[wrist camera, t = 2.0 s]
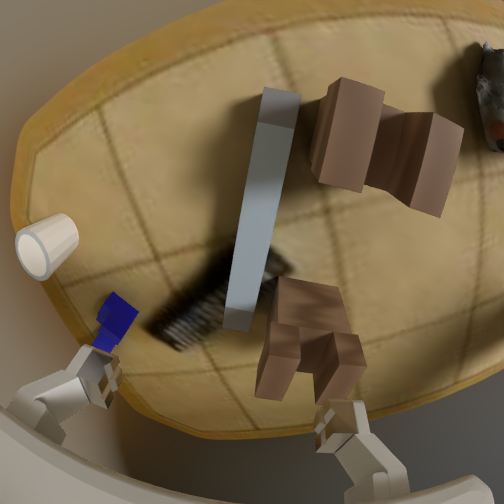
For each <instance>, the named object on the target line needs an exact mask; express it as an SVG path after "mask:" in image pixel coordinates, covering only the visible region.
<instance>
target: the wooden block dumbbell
mask: <svg viewBox="0 0 504 504" xmlns="http://www.w3.org/2000/svg"><path fill="white" fill-rule="evenodd" d="M384 95H385V91H383V90H380V89H377V88H374V87H371V86H369V85H366V84H363V83H360V82H357V81H353V80H350V79H347V78H344V77H341V78H339V79H338V80H337V81H335V82H334V83H332V84H331V85H330V86H329V87H328V92H327V95H326V96H324V97H323V98H321V99H320V103H319V108H318V113H317V117H316V122H315V127H314V132H313V136H312V141H311V145H310V150H309V154H308V160H309V161H310V162H311V163H312V166H311V172H312V173H313V175H314V176H315V178H316V179H317V181H318V182H319V183H324V184H328V185H332V186H336V187H339V188H343V189H347V190H351V191H355V192H358V193H361V192H362V189H363V185H368V186H371V187H375V188H378V189H381V190H385V191H387V192H389V193H390V194H391V195H393V196H394V197H395V198H397V199H398V200H400V201H401V202H402V203H404V204H405V205H406V206H408V207H409V208H412V209H415V210H418V211H421V212H424V213H427V214H430V215H432V216H435V217H438V218H440V217H441V214H442V211H443V208H444V205H445V202H446V199H447V195H448V192H449V189H450V186H451V182H452V179H453V175H454V171H455V167H456V164H457V160H458V155H459V151H460V147H461V142H462V138H463V133H464V128H462V127H460V126H459V125H457V124H455V123H453V122H451V121H449V120H448V119H446V118H444V117H442V116H440V115H438V114H436V113H434V112H409V113H406V112H403V111H401V110H398V109H396V108H393V107H391V106H388V105H385V104H383V100H384ZM366 367H367V365H366V361H365V358H364V354H363V350H362V347H361V343H360V340H359V336H358V335H354V334H352V332H351V328H350V325H349V321H348V318H347V314H346V311H345V308H344V304H343V301H342V297H341V294H340V291H339V288H338V287H334V286H328V285H323V284H318V283H312V282H307V281H302V280H297V279H291V278H286V277H281V276H279V278H278V282H277V285H276V289H275V293H274V296H273V300H272V304H271V308H270V311H269V315H268V321H267V335H266V340H265V344H264V347H263V350H262V354H261V357H260V360H259V363H258V369H257V379H256V388H255V397H257V398H263V399H270V400H277V401H282V399H283V397H284V395H285V393H286V391H287V389H288V387H289V385H290V382H291V380H292V378H293V376H294V374H295V372H296V371H297V372H305V373H313V380H314V393H315V404H316V405H323V403H324V401H325V400H326V399H345V398H346V397H347V395H348V394H349V392H350V391H351V390H352V388H353V387H354V385H355V384H356V382H357V381H358V379H359V378H360V377H361V375H362V373H363V372H364V370H365V369H366Z"/></svg>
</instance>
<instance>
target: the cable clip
mask: <svg viewBox="0 0 504 504" xmlns="http://www.w3.org/2000/svg"><path fill="white" fill-rule="evenodd" d="M138 313H139V311H137V310H136V309H135V308H133V307H132V306H131V305H130V304H128V303H127V302H126V301H124V300H123V299H122V298H121V297H119V296H118V295H117V294H116V293H114V292H113V293H112V294H111V295H110V296H109V297H108V299H107V300H106V301H105V302H104V304H103V305H102V307H101V309H100V311H99V312H98V317H97V319H96V320H97V321H98V322H100V323H101V324H102V326H101V327H100V329H99V332H100V333H99V335H98V336H97V338H96V339H95V341H94V342H93V344H92V345H91V346H93V347H95V348H98V349H100V350H103V351H105V352H108V353H110V352H111V351H112V349H113V348H114V346H115V345H118V344H119V342H120V341H121V340H122V338H123V336H124V335H125V333H126V332H127V330H128V328H129V327H130V325H131V324H132V322H133V321H134V319H135V317H136V316H137V314H138Z"/></svg>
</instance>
